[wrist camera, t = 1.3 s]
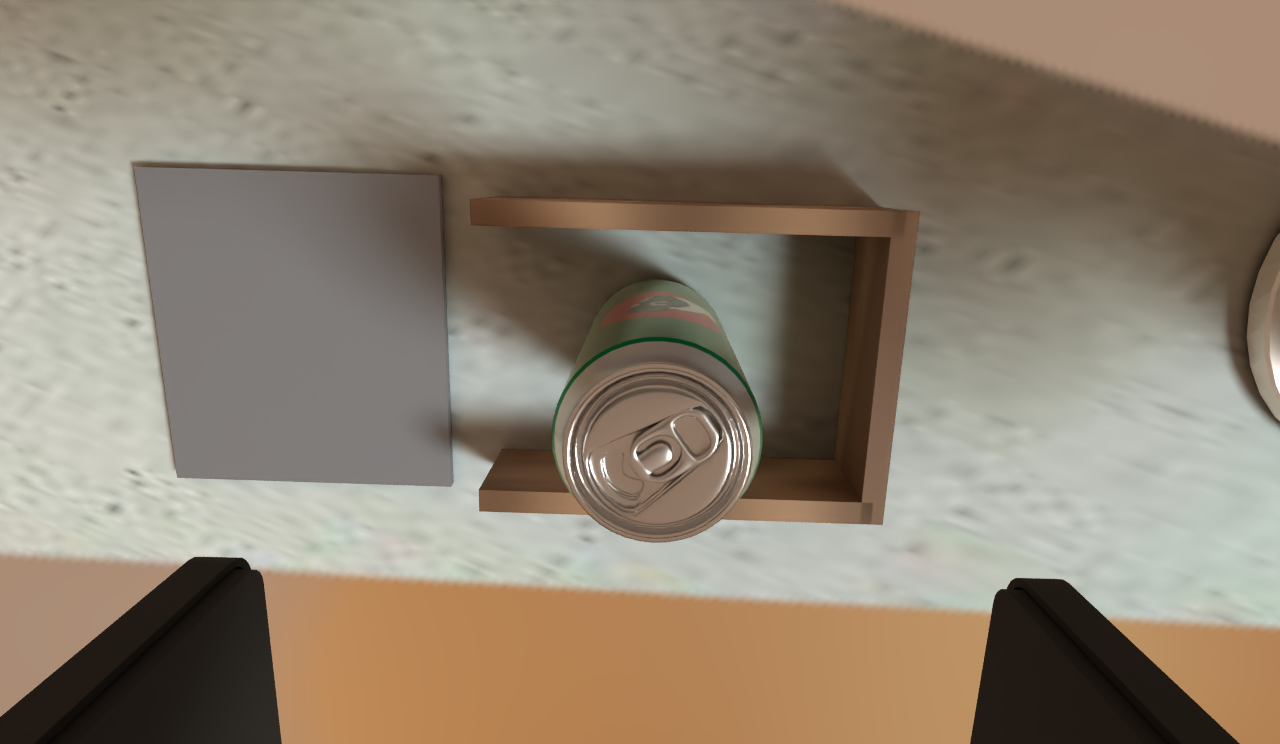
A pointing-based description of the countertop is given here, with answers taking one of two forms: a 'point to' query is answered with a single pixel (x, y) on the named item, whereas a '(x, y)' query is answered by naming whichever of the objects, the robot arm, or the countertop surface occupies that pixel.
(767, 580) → the countertop surface
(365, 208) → the mat
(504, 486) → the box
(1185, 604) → the countertop surface
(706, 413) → the soda can
